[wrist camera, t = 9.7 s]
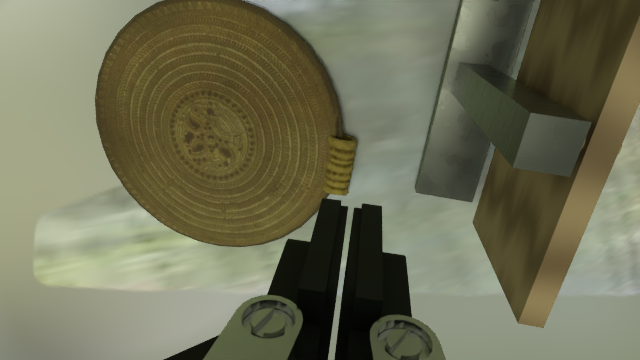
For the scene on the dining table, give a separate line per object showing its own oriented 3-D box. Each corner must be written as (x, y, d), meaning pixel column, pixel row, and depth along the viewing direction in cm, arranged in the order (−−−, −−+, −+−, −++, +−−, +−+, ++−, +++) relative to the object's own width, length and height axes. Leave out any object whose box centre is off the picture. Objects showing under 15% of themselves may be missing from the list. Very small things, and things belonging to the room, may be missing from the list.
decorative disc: (66, -17, 42) (370, 4, 38) (88, -15, 45) (372, 4, 41) (105, 235, 53) (343, 272, 49) (121, 223, 56) (346, 256, 52)
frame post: (477, -71, 37) (594, -157, 17) (547, -62, 37) (750, -139, 17) (414, 187, 47) (442, 324, 27) (469, 196, 47) (538, 342, 27)
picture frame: (557, -67, 31) (686, -121, 18) (588, -63, 31) (739, -114, 18) (469, 222, 40) (513, 322, 27) (492, 226, 40) (548, 328, 27)
